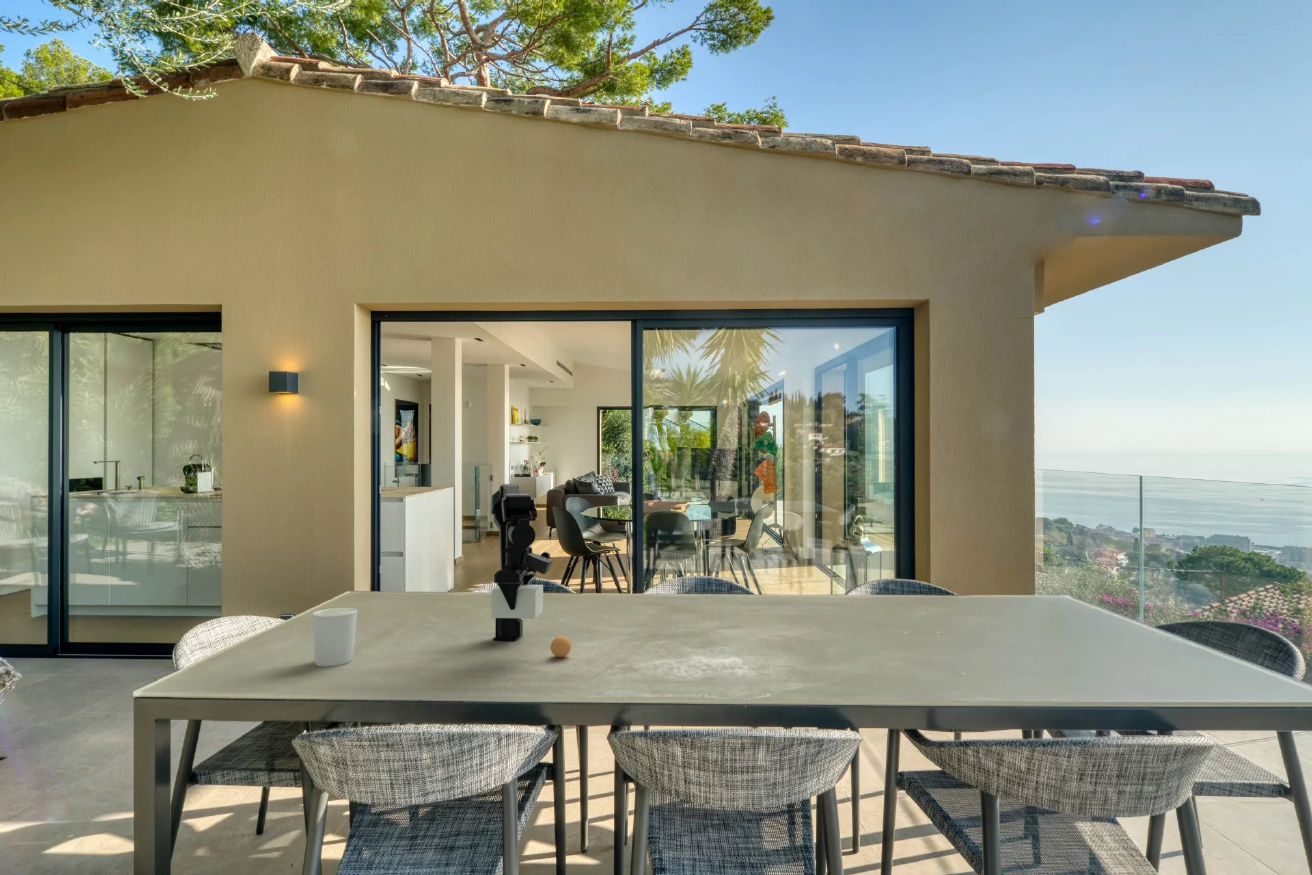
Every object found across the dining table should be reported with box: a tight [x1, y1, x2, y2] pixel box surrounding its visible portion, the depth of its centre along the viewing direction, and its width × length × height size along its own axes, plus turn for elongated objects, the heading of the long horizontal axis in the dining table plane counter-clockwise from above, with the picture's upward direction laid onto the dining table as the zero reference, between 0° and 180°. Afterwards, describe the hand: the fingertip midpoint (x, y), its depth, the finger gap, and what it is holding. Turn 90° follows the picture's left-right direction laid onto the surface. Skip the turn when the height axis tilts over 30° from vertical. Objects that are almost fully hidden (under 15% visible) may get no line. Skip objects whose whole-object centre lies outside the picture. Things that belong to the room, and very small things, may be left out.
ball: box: [550, 635, 572, 658], centre depth 160 cm, size 5×5×5 cm
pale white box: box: [490, 584, 544, 619], centre depth 162 cm, size 11×8×7 cm
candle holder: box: [312, 607, 358, 668], centre depth 157 cm, size 10×10×12 cm
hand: (517, 606), depth 162 cm, fingers closed on pale white box, 7 cm apart
